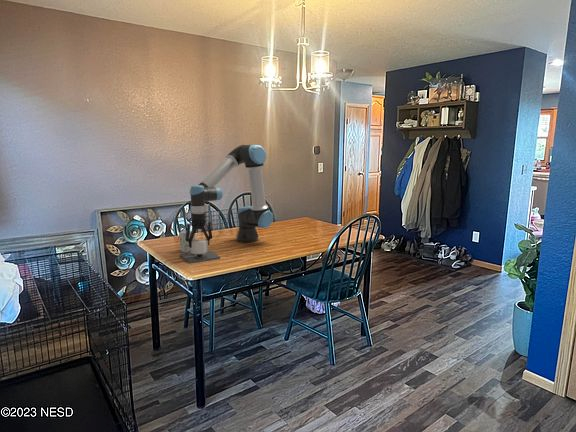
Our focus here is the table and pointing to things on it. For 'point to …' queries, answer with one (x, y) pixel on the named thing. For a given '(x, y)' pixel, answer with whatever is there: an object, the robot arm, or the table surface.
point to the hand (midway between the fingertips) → (199, 251)
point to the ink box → (184, 242)
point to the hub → (199, 257)
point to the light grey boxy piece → (199, 246)
